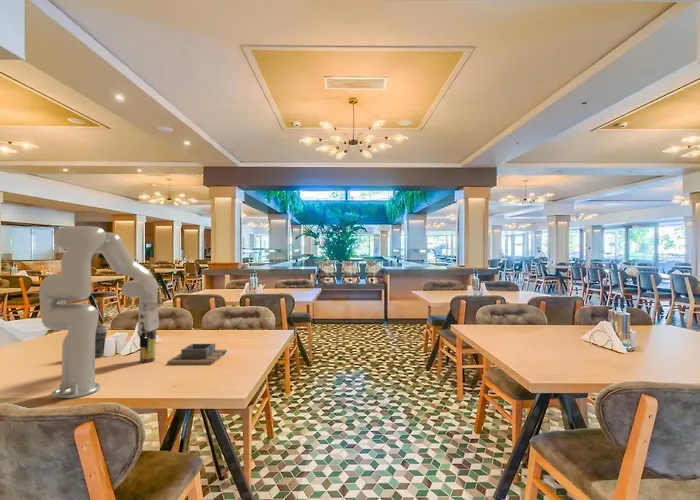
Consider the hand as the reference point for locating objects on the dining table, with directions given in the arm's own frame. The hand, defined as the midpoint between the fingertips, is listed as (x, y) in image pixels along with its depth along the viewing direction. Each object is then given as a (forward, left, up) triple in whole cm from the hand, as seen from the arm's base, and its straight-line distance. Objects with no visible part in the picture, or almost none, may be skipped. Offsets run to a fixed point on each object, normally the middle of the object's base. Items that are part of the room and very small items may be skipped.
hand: (147, 344), depth 167 cm
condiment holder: (+4, -22, -8) cm, 24 cm away
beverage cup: (+7, +28, -8) cm, 30 cm away
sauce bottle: (0, 0, -8) cm, 8 cm away
